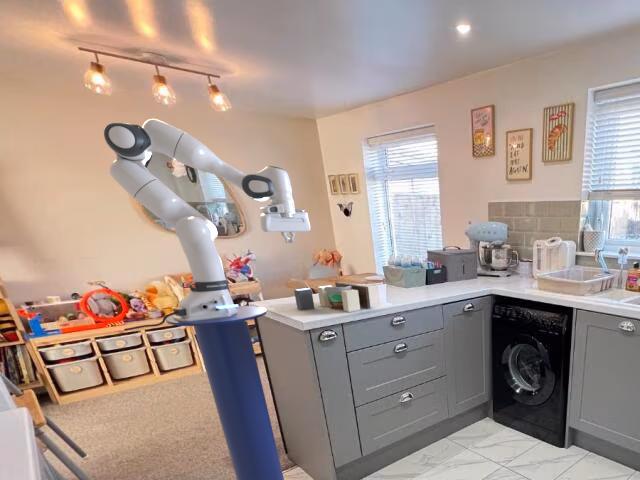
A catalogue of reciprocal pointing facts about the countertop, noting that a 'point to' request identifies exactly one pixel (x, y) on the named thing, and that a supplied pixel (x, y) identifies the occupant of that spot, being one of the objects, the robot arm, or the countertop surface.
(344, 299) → the cream block front
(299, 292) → the grey block
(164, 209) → the robot arm
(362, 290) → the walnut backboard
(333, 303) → the food container
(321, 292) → the cream block back
